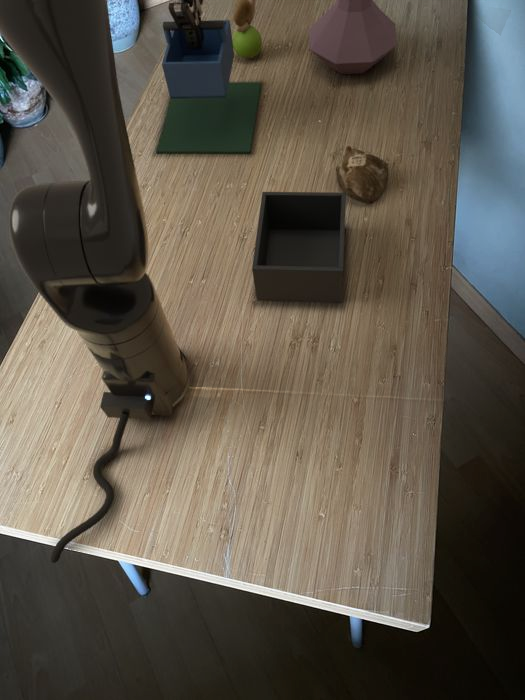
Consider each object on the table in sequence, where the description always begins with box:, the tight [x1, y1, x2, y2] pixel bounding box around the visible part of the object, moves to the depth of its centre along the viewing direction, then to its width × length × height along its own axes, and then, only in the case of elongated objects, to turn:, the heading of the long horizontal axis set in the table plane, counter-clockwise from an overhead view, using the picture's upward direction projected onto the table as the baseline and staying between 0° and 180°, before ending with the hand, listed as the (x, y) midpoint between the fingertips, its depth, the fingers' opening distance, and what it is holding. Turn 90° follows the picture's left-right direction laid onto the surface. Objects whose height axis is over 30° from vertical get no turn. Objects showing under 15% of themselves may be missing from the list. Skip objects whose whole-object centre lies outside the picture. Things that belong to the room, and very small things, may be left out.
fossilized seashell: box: [335, 145, 390, 203], centre depth 90 cm, size 8×7×10 cm
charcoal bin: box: [251, 191, 347, 304], centre depth 82 cm, size 14×12×8 cm
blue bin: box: [161, 19, 235, 99], centre depth 92 cm, size 11×10×9 cm
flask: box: [308, 0, 398, 75], centre depth 99 cm, size 16×16×20 cm
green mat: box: [155, 81, 262, 155], centre depth 103 cm, size 18×16×1 cm
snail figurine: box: [232, 0, 263, 59], centre depth 106 cm, size 5×6×12 cm
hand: (196, 44), depth 91 cm, fingers closed on blue bin, 1 cm apart
